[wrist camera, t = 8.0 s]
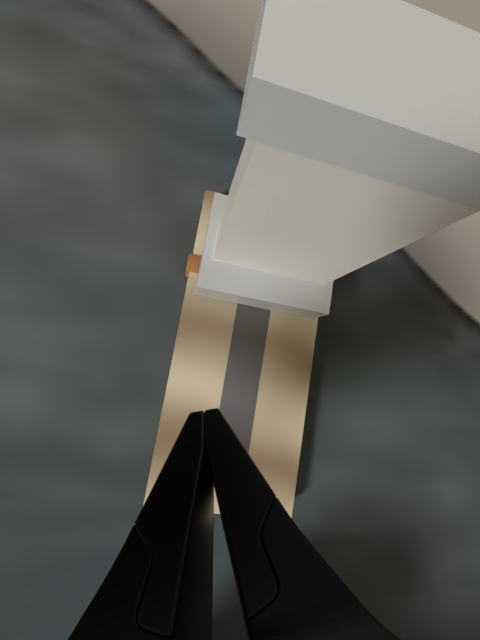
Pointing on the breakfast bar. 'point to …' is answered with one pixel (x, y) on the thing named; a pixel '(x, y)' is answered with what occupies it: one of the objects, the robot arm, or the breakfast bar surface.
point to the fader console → (239, 377)
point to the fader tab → (343, 149)
